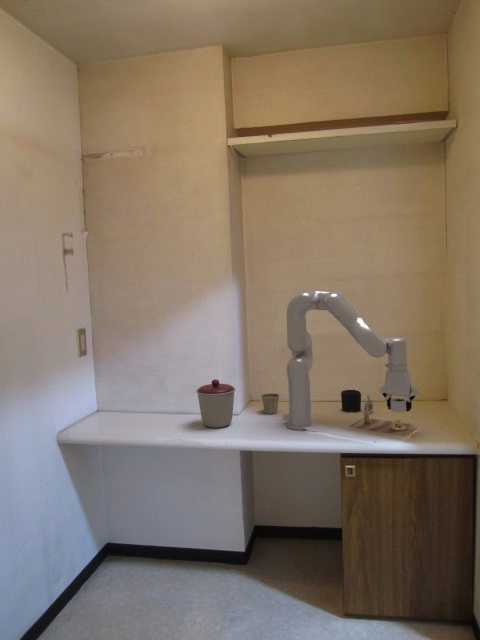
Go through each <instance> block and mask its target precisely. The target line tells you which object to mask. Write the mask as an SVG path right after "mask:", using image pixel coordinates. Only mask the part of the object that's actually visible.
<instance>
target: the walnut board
mask: <svg viewBox="0 0 480 640" xmlns="http://www.w3.org/2000/svg"><path fill="white" fill-rule="evenodd" d="M394 424H395V421H391V420H384V419H376V418H370V417H369V424H364V416H363V417H362V418H360V419H359V420H357V421H355V422H353V423H351V424H350V425H349V426H348V427H347V428H353V429H360V430H366V431H371V432H378V433H384V434H389V435H395V436H402V437H404V436H406V437H407V436H409V435H410V433H409V432H410V431H411V433H412V432H413V431H414V432H415V429H414V428H415V427H417V424H411V423H403V422H401V425H405V426H406V427H407V430H404V431H395V430H392V429H390V426H391V425H394Z"/></svg>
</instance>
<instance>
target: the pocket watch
mask: <svg viewBox="0 0 480 640" xmlns="http://www.w3.org/2000/svg"><path fill="white" fill-rule="evenodd" d="M366 397H367V400H366V401H365V404H364V405H363V407H364V409H363V410H364V411H369V415H370V414H371V413H372V412H373V410H374V403H373V400H371V396H370V394H367V395H366Z"/></svg>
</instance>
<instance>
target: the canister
mask: <svg viewBox="0 0 480 640" xmlns="http://www.w3.org/2000/svg"><path fill="white" fill-rule="evenodd" d="M235 391H236V387H235V386H233V385H231V384H228V383H220V380H219V379H216V378H215V379H212V380H211V383H209V384H205V385H204V384H203V385H202V386H199V387H198V388H197V389H196V390H195V392H196V394H197V397H198V405H199V410H200V416H201V421H202V423H203V425H204V426H205V427H208V428H215V429H217V428H224V427H228V426H229V425H230V424H231V423H232V421H233V415H234V413H233V412H234V402H235Z"/></svg>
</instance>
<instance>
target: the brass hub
mask: <svg viewBox="0 0 480 640" xmlns="http://www.w3.org/2000/svg"><path fill="white" fill-rule="evenodd" d="M394 422H395V424H394V425H391V426H390V429H392V430H395V431H404V430H407V427H406V426H405V425H401V423H402V420H400V419H395V420H394Z"/></svg>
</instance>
